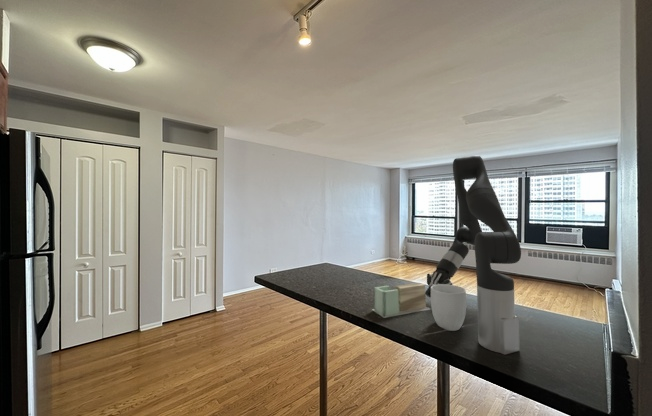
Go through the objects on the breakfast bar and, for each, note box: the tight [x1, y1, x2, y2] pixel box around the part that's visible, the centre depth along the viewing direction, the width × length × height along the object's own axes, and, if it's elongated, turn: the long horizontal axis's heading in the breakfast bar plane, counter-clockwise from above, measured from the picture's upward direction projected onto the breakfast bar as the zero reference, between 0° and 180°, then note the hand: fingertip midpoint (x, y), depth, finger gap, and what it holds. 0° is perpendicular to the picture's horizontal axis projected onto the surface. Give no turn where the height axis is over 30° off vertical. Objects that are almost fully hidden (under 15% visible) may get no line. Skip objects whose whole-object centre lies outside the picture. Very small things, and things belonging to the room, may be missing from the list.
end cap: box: [373, 285, 399, 316], centre depth 102 cm, size 7×7×9 cm
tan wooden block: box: [394, 282, 427, 311], centre depth 106 cm, size 4×12×9 cm, turn 110°
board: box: [371, 306, 431, 319], centre depth 105 cm, size 9×22×1 cm, turn 110°
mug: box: [430, 284, 468, 332], centre depth 91 cm, size 15×11×13 cm
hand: (427, 295), depth 109 cm, fingers closed
